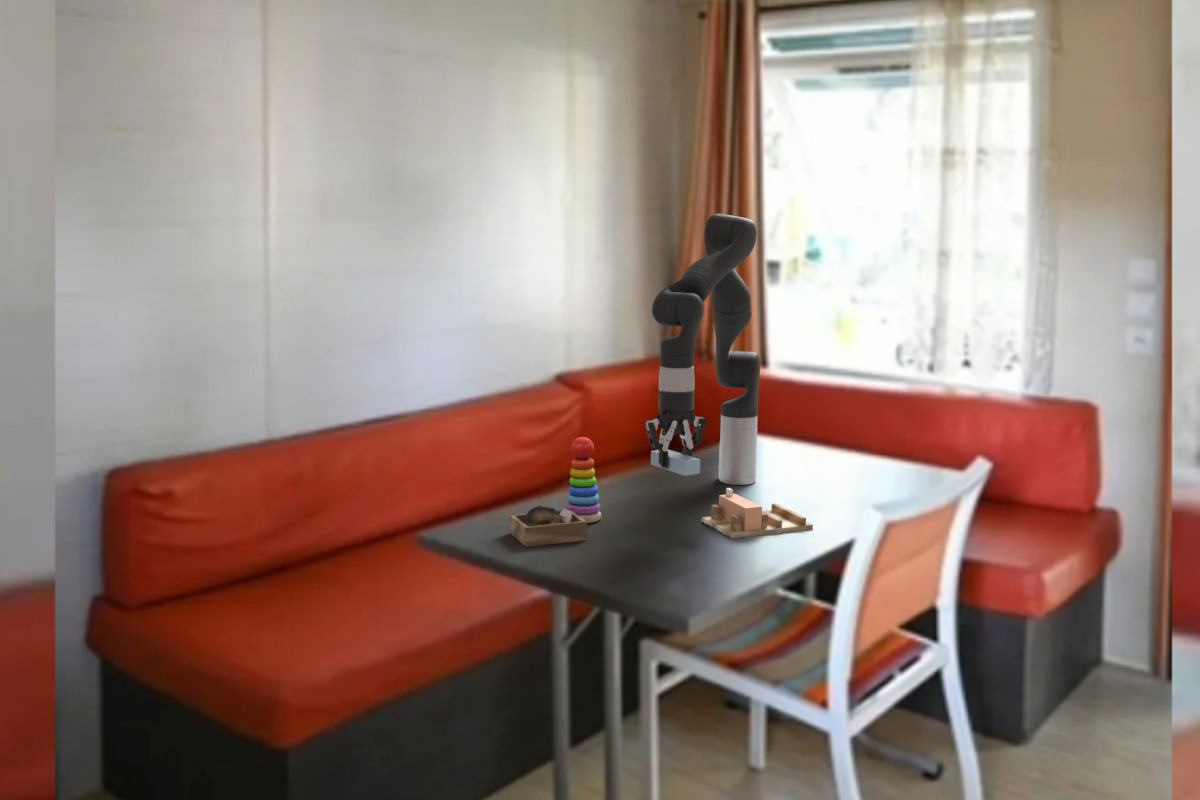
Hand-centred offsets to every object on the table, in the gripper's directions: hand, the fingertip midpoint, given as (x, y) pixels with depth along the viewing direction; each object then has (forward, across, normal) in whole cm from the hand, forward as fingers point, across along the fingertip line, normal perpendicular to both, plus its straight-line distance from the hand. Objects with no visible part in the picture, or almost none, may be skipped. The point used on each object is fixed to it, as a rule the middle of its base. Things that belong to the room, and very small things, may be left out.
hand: (675, 466), depth 254 cm
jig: (+15, -20, 0) cm, 25 cm away
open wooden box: (+15, +26, -7) cm, 31 cm away
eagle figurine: (+15, +26, -7) cm, 31 cm away
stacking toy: (+15, +14, -18) cm, 27 cm away
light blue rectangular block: (+1, 0, 0) cm, 1 cm away
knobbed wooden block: (+14, -16, 0) cm, 21 cm away
